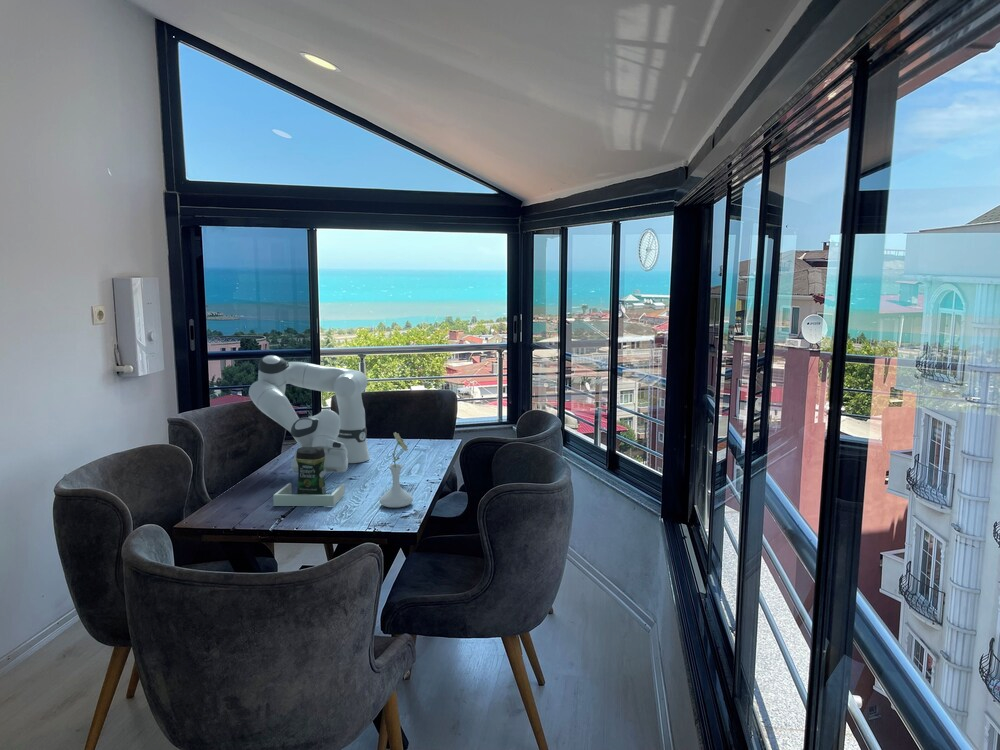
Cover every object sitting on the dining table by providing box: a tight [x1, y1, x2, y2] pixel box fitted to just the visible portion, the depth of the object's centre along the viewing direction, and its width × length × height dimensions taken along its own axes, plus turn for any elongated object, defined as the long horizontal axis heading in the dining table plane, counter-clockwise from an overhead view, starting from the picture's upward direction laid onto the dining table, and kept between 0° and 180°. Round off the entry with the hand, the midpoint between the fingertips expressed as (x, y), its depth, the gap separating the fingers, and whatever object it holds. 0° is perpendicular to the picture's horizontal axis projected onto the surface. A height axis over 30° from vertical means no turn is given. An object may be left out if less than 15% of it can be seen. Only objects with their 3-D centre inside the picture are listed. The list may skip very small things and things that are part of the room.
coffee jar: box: [296, 446, 327, 495], centre depth 231 cm, size 10×8×19 cm
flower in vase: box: [379, 431, 414, 509], centre depth 223 cm, size 13×11×25 cm
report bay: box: [272, 482, 346, 508], centre depth 229 cm, size 14×20×4 cm
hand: (316, 481), depth 236 cm, fingers closed, pressing on coffee jar
